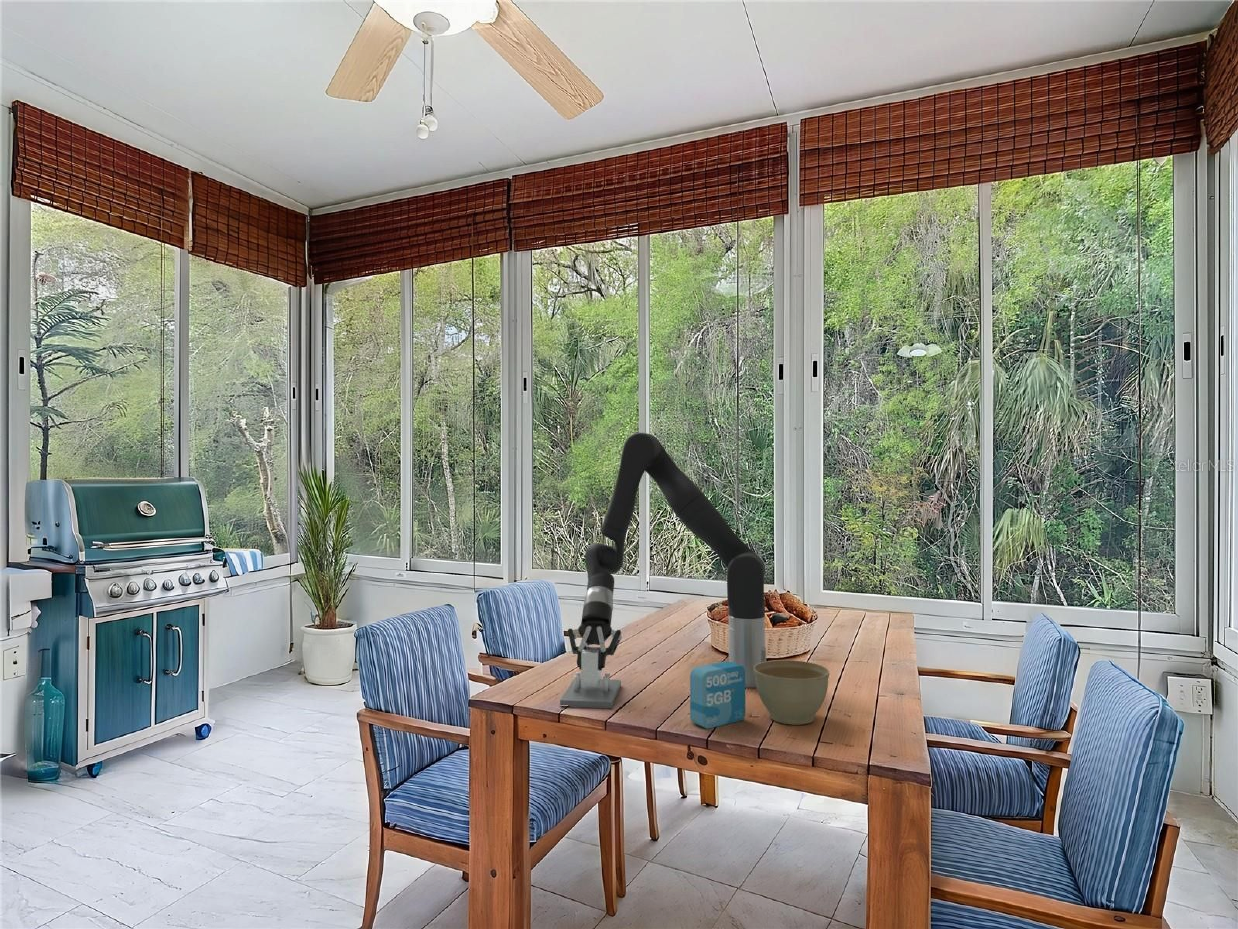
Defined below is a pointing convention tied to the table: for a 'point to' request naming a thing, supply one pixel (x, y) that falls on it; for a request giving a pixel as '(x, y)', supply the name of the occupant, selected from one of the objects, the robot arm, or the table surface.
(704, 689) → the data package
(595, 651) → the block
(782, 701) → the planter bowl
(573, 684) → the drive dock
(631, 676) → the table surface
